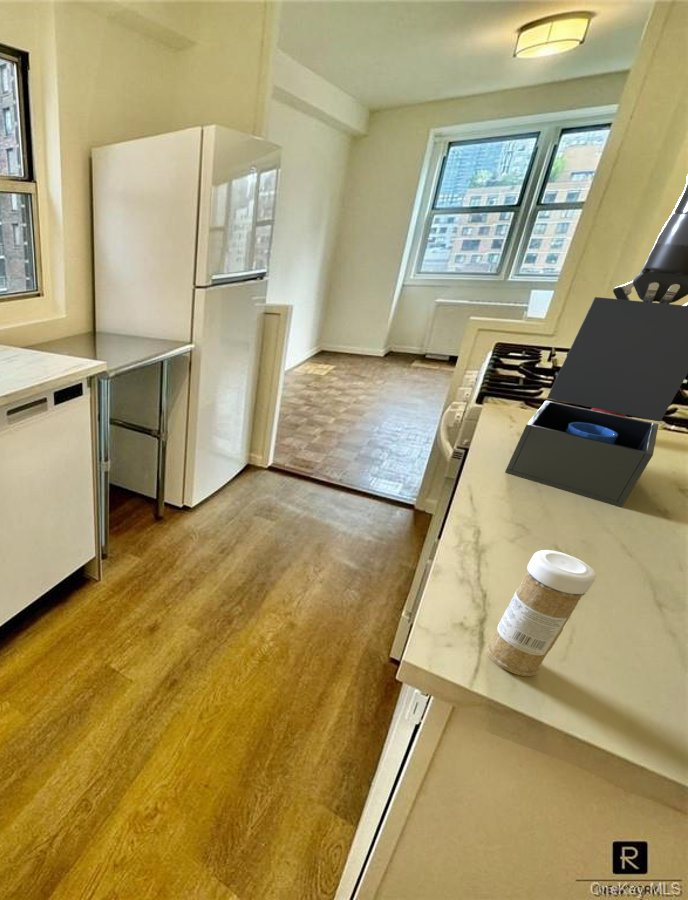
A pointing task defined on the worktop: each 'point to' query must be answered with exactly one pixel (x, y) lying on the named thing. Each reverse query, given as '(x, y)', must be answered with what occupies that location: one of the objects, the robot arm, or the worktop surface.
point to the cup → (592, 431)
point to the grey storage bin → (583, 453)
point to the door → (626, 358)
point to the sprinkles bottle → (539, 611)
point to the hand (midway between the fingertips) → (635, 340)
